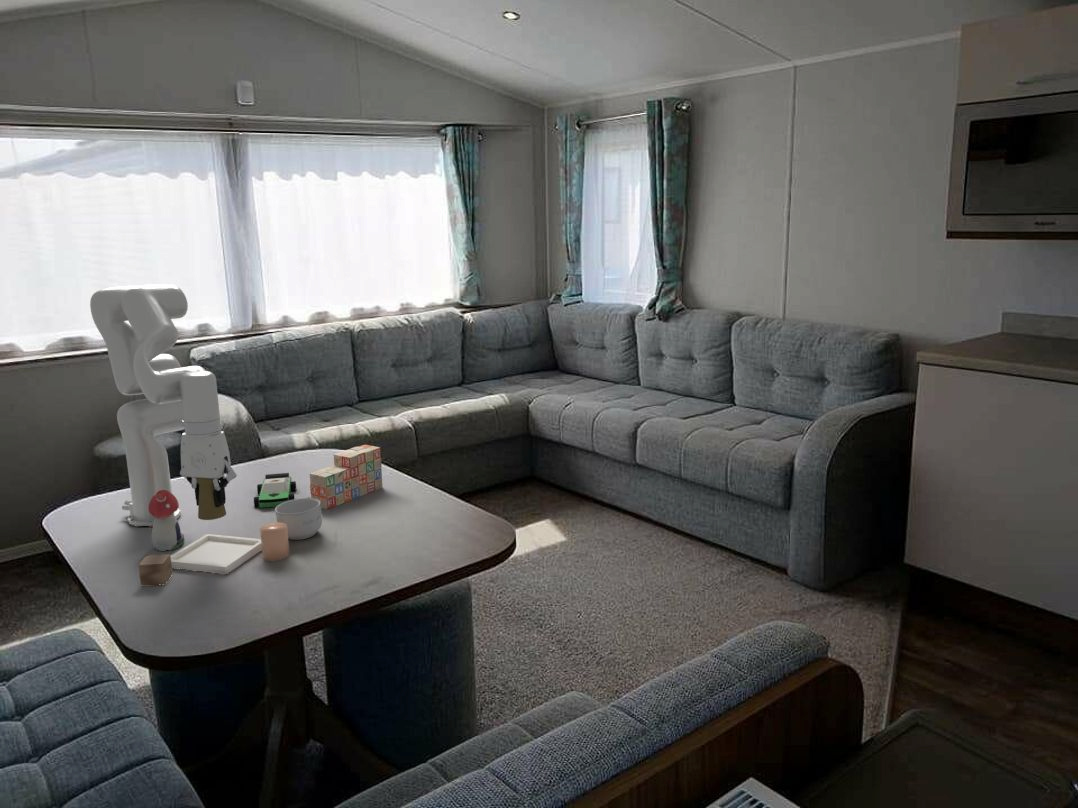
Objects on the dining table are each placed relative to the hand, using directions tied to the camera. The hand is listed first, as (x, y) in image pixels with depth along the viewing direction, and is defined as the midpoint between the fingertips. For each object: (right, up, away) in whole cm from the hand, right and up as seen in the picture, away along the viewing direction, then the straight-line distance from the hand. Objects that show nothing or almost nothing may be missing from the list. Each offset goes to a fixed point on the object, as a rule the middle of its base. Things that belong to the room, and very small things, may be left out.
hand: (211, 503), depth 191 cm
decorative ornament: (-14, -11, +10) cm, 20 cm away
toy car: (+1, -4, +43) cm, 44 cm away
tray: (0, -13, +3) cm, 13 cm away
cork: (0, -3, +1) cm, 3 cm away
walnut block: (-8, -16, -9) cm, 20 cm away
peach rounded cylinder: (+14, -12, +4) cm, 19 cm away
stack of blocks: (+21, -3, +43) cm, 48 cm away
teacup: (+16, -9, +17) cm, 25 cm away
